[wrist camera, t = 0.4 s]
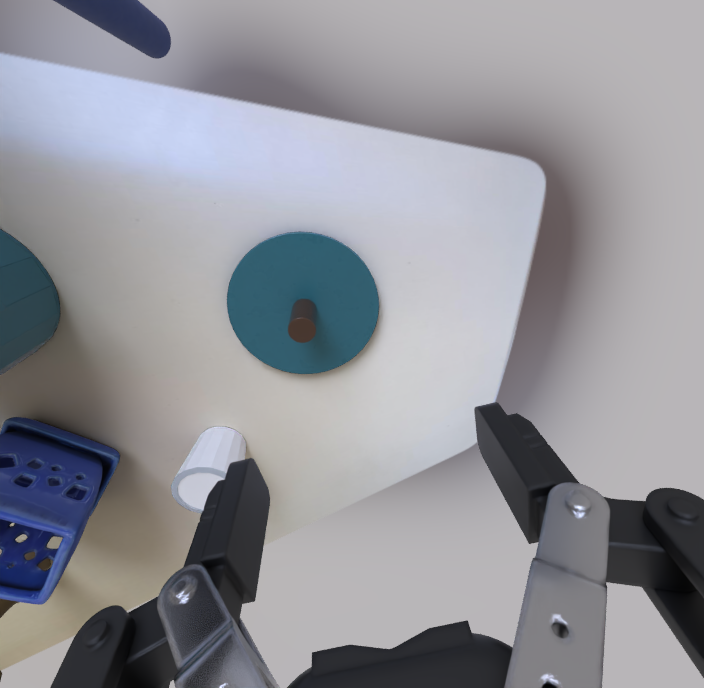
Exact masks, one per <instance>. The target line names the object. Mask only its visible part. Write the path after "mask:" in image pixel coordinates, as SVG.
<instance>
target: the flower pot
mask: <svg viewBox="0 0 704 688" xmlns="http://www.w3.org/2000/svg"><path fill="white" fill-rule="evenodd" d="M119 459H120V455H119V453H118V452H117V451H116V450H115V449H113V448H111V447H108V446H105V445H103V444H100V443H97V442H95V441H92V440H89V439H87V438H84V437H81V436H78V435H76V434H73V433H70V432H67V431H65V430H62V429H59V428H56V427H53V426H50V425H47V424H44V423H42V422H39V421H36V420H32V419H28V418H22V417H13V418H9V419H7V420H6V421H5V422H4V424H3V427H2V430H1V433H0V549H1V550H2V553H1V555H0V599H5V600H11V601H17V602H24V603H31V604H44V603H45V602H46V601H47V600H48V599H49V597H50V596H51V594H52V593H53V591H54V589H55V587H56V586H57V584H58V582H59V580H60V578H61V576H62V574H63V572H64V570H65V568H66V566H67V564H68V562H69V561H70V559H71V557H72V555H73V553H74V551H75V549H76V547H77V545H78V543H79V540H80V538H81V536H82V534H83V531H84V529H85V526H86V524H87V521H88V519H89V517H90V516H91V514H92V513H93V511H94V509H95V507H96V506H97V504H98V502H99V500H100V498H101V496H102V494H103V492H104V490H105V489H106V487H107V485H108V483H109V481H110V479H111V477H112V475H113V473H114V471H115V469H116V467H117V465H118V462H119ZM11 523H15V524H14V526H9V525H10V524H11ZM22 534H25V535H27V537H28V538H27V539H26V540H24V541H23V542H21V543H18V542H16V540H15V539H16V538H17V537H18V536H20V535H22ZM53 536H56V537H62V538H63V539H62V541H61V543H60V546H59V548H58V549H50V548H47V544H48V542H49V541H50V539H51V537H53ZM30 552H35V557H34V558H33V559H31V560H26V559H25V557H24V555H25V554H27V553H30ZM47 558H49V559H51V560H52V561H53V564H52V567H51V568H49V569H48V570H46V571H44V570H42V569H41V568H39V567H38V565H39V564H40V563H41V562H42V561H44V560H45V559H47ZM12 565H14V566H12Z"/></svg>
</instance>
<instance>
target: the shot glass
mask: <svg viewBox="0 0 704 688" xmlns="http://www.w3.org/2000/svg"><path fill="white" fill-rule="evenodd" d="M245 453H246V442H245V440H244V438H243V436H242V435H241V434H240V433H238V432H237V431H236V430H233V429H231V428H228V427H217V426H216V427H213V428H209V429H207V430H205V431H204V432H203V433H202V434H201V435H200V436H199V438H198V440H197V441H196V443H195V445H194V446H193V448H192V450H191V451H190V453H189V455H188V456H187V458H186V460H185V461H184V463H183V465H182V466H181V468H180V470H179V471H178V473H177V475H176V476H175V478H174V481H173V483H172V485H171V490H172V496H173V497H174V498H175V500H176V501H177V502H178V504H180V505H181V506H183V507H185V508H186V509H188V510H190V511H193V512H197V513H201V514H202V511H204V506H205V503H206V500H207V497H208V494H209V493H210V491H211V490H212V489H213V487H214V486H215V484H216V483H217V482H218V481H220V480H224V479H225V477H226V473H227V470H228V467H229V465H230V463H232V462H236V461H241V460H245Z"/></svg>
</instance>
